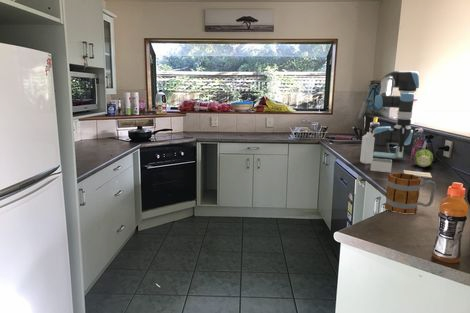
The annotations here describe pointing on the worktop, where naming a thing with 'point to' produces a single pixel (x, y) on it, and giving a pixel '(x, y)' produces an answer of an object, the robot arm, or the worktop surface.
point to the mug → (405, 192)
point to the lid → (387, 154)
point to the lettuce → (423, 158)
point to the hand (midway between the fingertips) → (399, 156)
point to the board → (419, 174)
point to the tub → (381, 165)
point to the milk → (367, 148)
